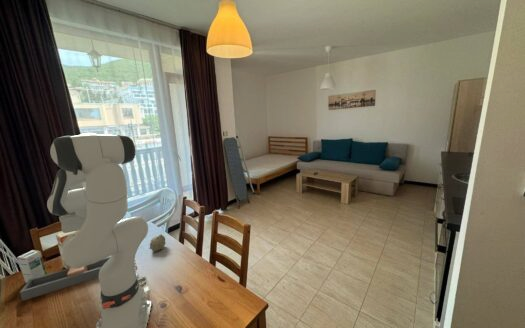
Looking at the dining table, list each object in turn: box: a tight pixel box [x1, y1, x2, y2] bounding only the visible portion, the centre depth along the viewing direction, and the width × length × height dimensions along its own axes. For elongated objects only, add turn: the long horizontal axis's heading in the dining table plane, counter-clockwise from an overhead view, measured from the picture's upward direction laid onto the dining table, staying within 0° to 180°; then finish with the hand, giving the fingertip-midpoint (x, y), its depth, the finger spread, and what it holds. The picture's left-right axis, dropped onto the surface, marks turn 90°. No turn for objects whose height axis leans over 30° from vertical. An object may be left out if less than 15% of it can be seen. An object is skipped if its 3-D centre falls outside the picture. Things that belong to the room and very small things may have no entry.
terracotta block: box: [67, 266, 88, 277], centre depth 102 cm, size 6×6×4 cm
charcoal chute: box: [19, 256, 111, 302], centre depth 102 cm, size 9×32×4 cm, turn 120°
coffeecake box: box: [55, 230, 79, 269], centre depth 115 cm, size 15×7×20 cm, turn 150°
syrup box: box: [17, 249, 48, 284], centre depth 102 cm, size 6×6×14 cm
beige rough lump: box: [149, 234, 167, 252], centre depth 124 cm, size 9×8×10 cm
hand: (92, 235), depth 103 cm, fingers open, 2 cm apart
